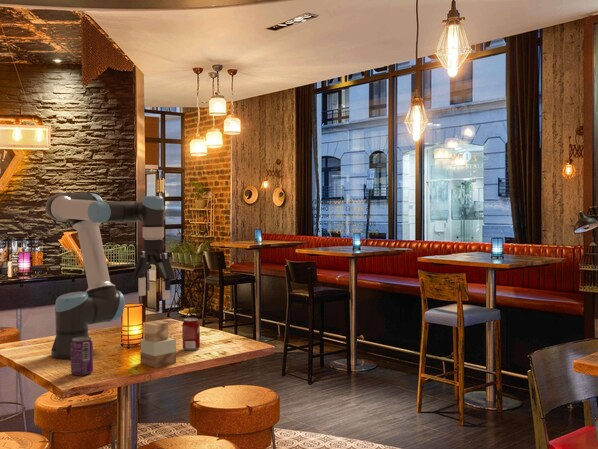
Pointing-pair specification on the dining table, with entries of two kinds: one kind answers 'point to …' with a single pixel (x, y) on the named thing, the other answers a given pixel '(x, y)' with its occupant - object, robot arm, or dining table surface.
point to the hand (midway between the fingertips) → (153, 297)
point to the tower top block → (158, 347)
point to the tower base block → (158, 359)
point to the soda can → (191, 334)
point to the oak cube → (156, 331)
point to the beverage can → (81, 356)
